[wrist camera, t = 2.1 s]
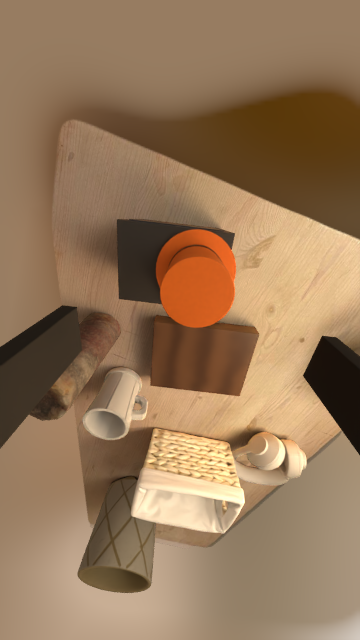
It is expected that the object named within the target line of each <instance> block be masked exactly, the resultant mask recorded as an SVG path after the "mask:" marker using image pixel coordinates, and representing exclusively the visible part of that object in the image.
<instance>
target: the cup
mask: <svg viewBox="0 0 360 640" xmlns="http://www.w3.org/2000/svg"><path fill="white" fill-rule="evenodd" d="M141 387H142V380H141V378H140V376H139V375H138V374H137V373H136V372H134V371H133V370H131V369H128V368H125V367H118V368H113V369H112V370H110V371H109V372H108V373H107V375H106V376H105V379H104V384H103V386H102V388H101V389H100V391H99V393H98V394H97V396H96V398H95V399H94V401H93V402H92V404H91V405H90V407H89V408H88V410H87V411H86V413H85V414H84V416H83V420H82V422H83V425H84V427H85V429H86V430H87V431H88V432H89V433H90V434H92V435H93V436H96V437H98V438H101V439H104V440H105V439H106V440H116V439H120V438H122V437H124V436H125V435H126V434H127V433H128V430H129V426H130V422H131V420H143V419H144V418H145V417H146V414H147V407H148V400H147V399H146V398H145V397H144V396H139V395H138V394H139V393H140V390H141ZM135 403H139V404H140V405H141V407H142V409H140V410H133V408H134V404H135Z"/></svg>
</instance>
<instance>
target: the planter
mask: <svg viewBox="0 0 360 640" xmlns="http://www.w3.org/2000/svg"><path fill="white" fill-rule="evenodd" d="M137 481H138V480H136V479H135V478H134V477H133V476H130V477H126V478H123V479H120V480H117V481H115V482H113V483H112V484H111V485H110V486H109V488H108V491H107V493H106V496H105V499H104V502H103V504H102V507H101V510H100V513H99V515H98V518H97V521H96V523H95V526H94V529H93V532H92V534H91V537H90V540H89V543H88V545H87V548H86V551H85V553H84V556H83V559H82V562H81V565H80V568H79V570H78V577H79V578H80V580H81V581H83V582H84V583H86V584H88V585H90V586H92V587H95V588H98V589H102V590H106V591H112V592H120V593H134V592H141V591H144V590H146V589H148V588H149V587H150V586H151V581H152V568H153V557H154V543H155V528H156V523H155V522H150V521H146V520H142V519H139V518H136V517H132V516H131V507H132V503H133V498H134V494H135V489H136V485H137Z"/></svg>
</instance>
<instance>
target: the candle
mask: <svg viewBox="0 0 360 640" xmlns="http://www.w3.org/2000/svg"><path fill="white" fill-rule="evenodd" d="M79 328H80V336H81V344H82V351H81V352H80V353H79V355H78V356H77V357H76V358H75V359H74V361H73V362H72V363H71V364H70V365H69V367H68V368H67V369H66V370H65V371H64V373H63V374H62V375H61V376H60V377H59V379H58V380H57V381H56V382H55V383H54V385H53V386H52V387H51V388H50V389H49V391H48V392H47V393H46V394H45V395H44V397H43V398H42V399H41V400H40V401H39V403H38V404H37V405H36V406H35V407H34V409H33V410H32V411H31V412H30V413H29V414H30V415H31V416H33V417H36V418H37V419H40V420H42V421H43V420H53V419H58V418H60V417H62V416H63V415H64V414H65V413H66V412H67V411H68V410H69V409H70V407H71V406H72V404H73V402H74V401H75V399H76V398H77V397H78V395H79V394H80V392H81V391H82V389H83V388H84V386H85V385H86V383H87V382H88V381H89V379H90V378H91V376H92V375H93V373H94V372H95V370H96V369H97V367H98V366H99V364H100V363H101V361H102V360H103V359H104V357H105V356H106V354H107V353H108V352H109V350H110V349H111V347H112V346H113V344H114V343H115V341H116V340H117V338H118V337H119V335H120V333H121V330H120V327H119V324H118V321H117V320H115V318H114V317H111V316H110V315H107V314H102V313H93V314H90V315H89V316H88V317H87V318H85V319H84V320H83V321H82V322H81V323H80V324H79Z"/></svg>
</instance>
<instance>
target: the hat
mask: <svg viewBox="0 0 360 640" xmlns="http://www.w3.org/2000/svg"><path fill="white" fill-rule="evenodd" d="M235 274H236V264H235V258H234V255H233V253H232V251H231V249H230V247H229V246H228V244H227V243H226V242H225V241H224V240H223V239H222V238H221V237H219V236H218V235H216V234H214V233H212V232H210V231H207V230H201V229H193V230H187V231H184V232H181V233H179V234H177V235H175V236H174V237H172V238H171V239H170V240H169V241H168V242H167V243H166V244H165V245H164V247H163V248H162V250H161V252H160V254H159V256H158V259H157V263H156V277H157V281H158V284H159V287H160V298H161V303H162V305H163V308H164V309H165V311H166V313H167V314H168V315H169V316H170V317H171V318H172V319H173V320H174V321H176V322H178V323H179V324H182V325H184V326H187V327H194V328H200V327H206V326H209V325H212V324H214V323H216V322H218V321H219V320H221V319H222V318H223V317H224V316H225V315H226V314H227V312H228V311H229V310H230V308H231V306H232V304H233V300H234V295H235V287H234V279H235Z"/></svg>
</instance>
